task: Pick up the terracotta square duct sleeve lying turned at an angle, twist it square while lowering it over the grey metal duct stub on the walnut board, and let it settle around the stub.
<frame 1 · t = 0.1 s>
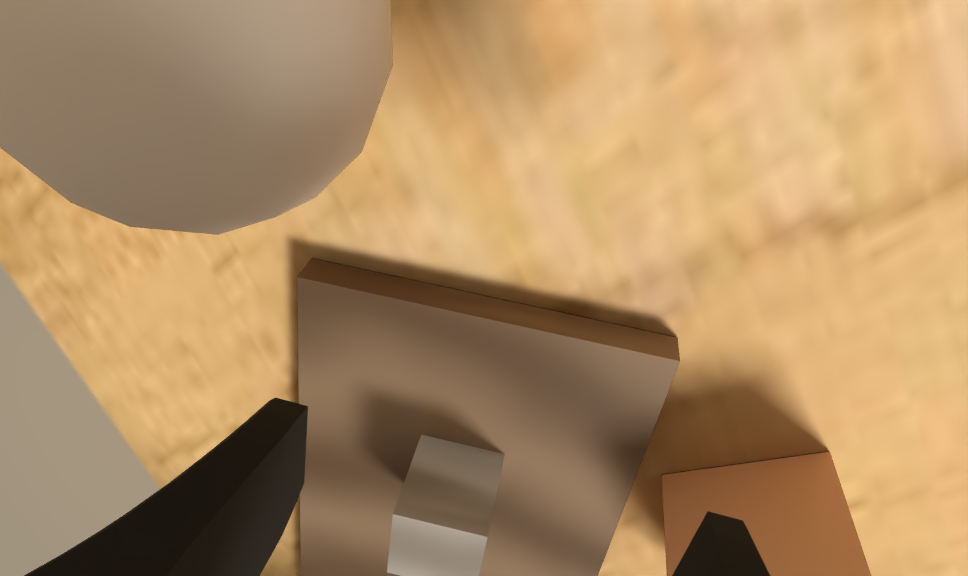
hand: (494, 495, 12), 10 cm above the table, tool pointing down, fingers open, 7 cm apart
duct sleeve: (758, 518, 25), on the table
duct board: (458, 485, 27), on the table
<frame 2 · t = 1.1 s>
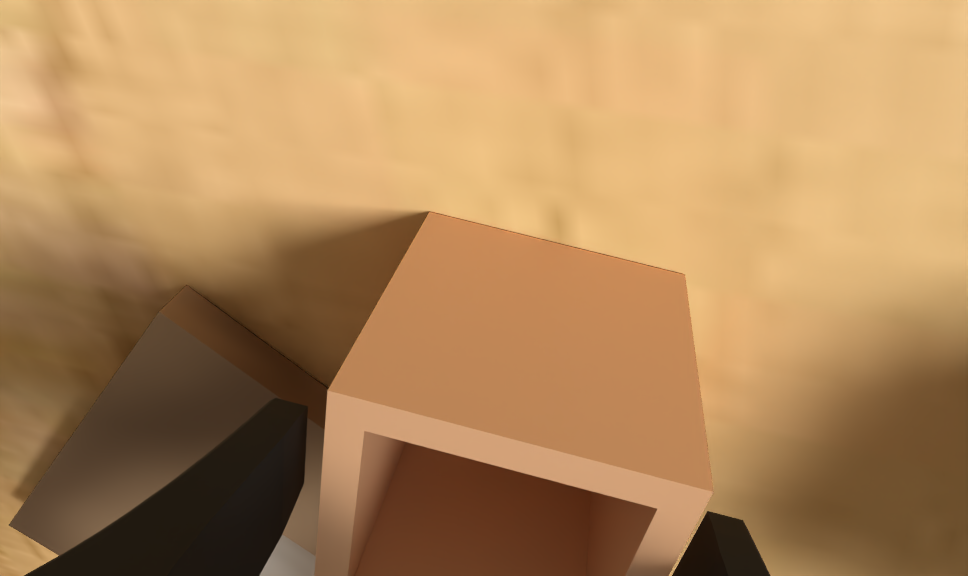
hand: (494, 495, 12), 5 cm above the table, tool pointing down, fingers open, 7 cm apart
duct sleeve: (528, 344, 16), on the table
duct board: (345, 569, 22), on the table
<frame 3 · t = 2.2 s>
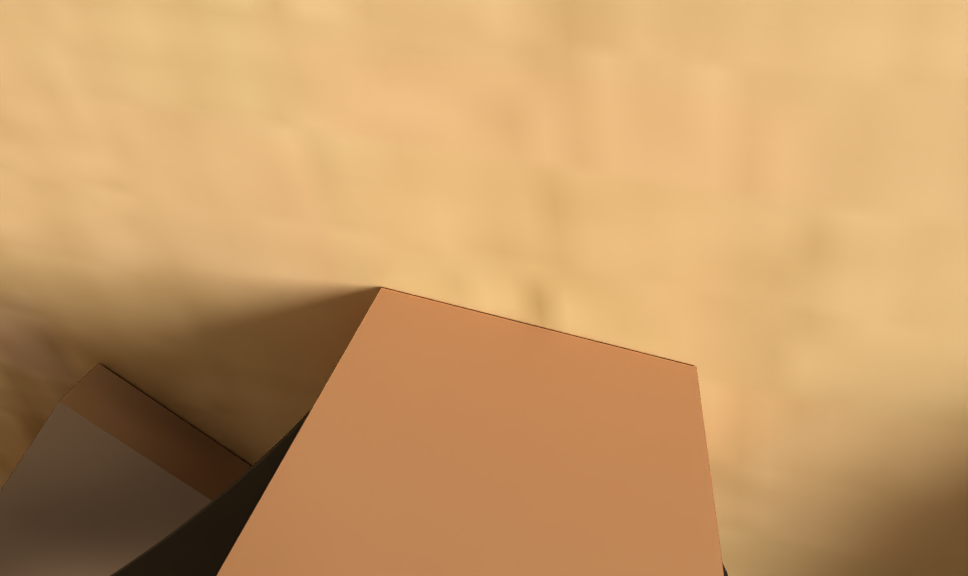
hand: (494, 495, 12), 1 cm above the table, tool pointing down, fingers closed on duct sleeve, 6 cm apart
duct sleeve: (505, 439, 13), on the table, touching gripper
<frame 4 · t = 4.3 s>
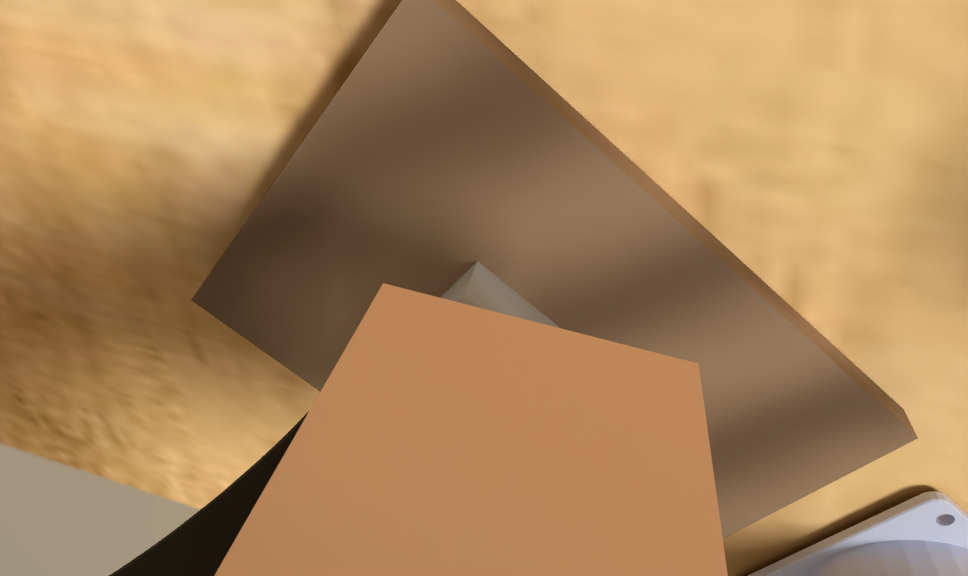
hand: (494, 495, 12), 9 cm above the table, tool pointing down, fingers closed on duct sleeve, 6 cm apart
duct sleeve: (507, 436, 13), point 7 cm above the table, touching gripper
duct board: (540, 341, 21), on the table
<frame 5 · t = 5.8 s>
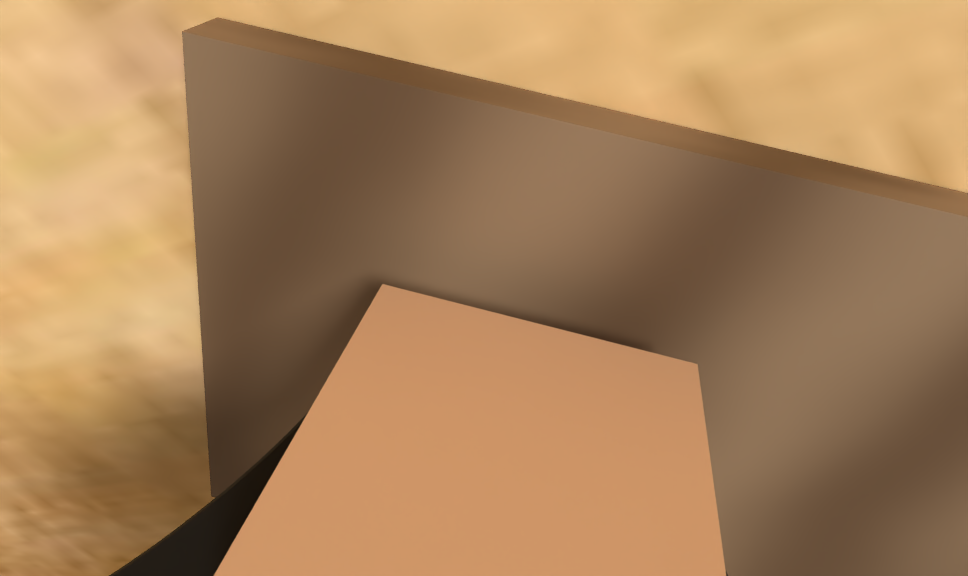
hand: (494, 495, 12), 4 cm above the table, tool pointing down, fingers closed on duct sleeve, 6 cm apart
duct sleeve: (506, 436, 13), point 2 cm above the table, touching gripper
duct board: (608, 383, 15), on the table
when the fingers open (4 cm above the table, at t = 6.6 s): duct sleeve drops 1 cm, resting on duct board.
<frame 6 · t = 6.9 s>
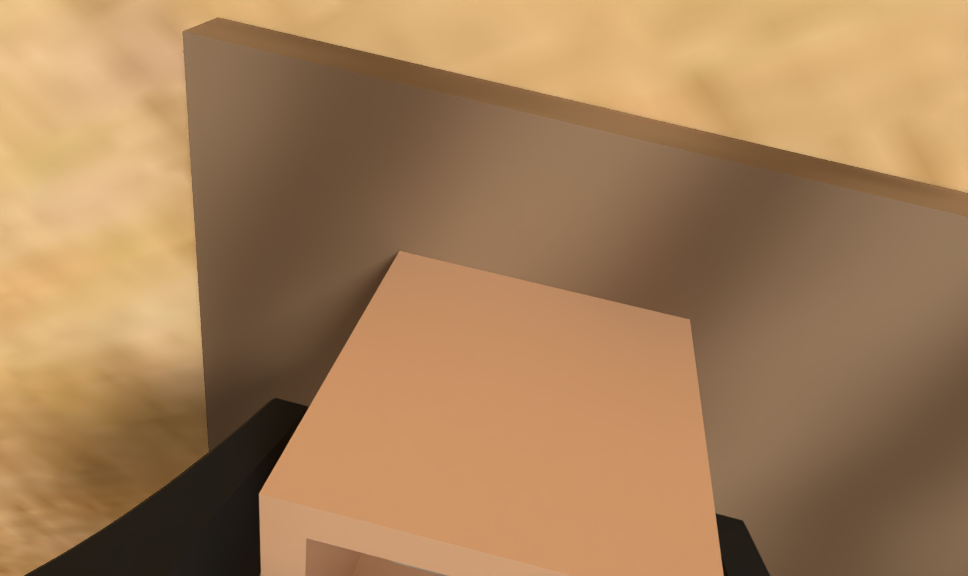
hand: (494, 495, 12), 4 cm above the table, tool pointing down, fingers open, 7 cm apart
duct sleeve: (515, 394, 15), point 1 cm above the table, touching duct board
duct board: (609, 383, 15), on the table
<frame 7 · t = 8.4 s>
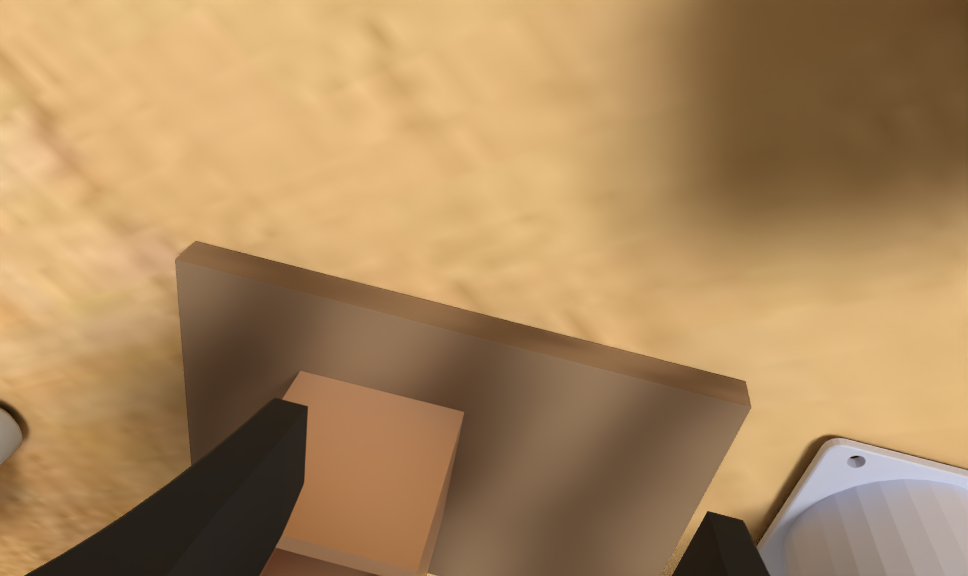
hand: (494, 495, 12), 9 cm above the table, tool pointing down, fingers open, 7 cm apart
duct sleeve: (375, 450, 24), point 1 cm above the table, touching duct board
duct board: (438, 441, 25), on the table
light bulb: (7, 410, 29), on the table
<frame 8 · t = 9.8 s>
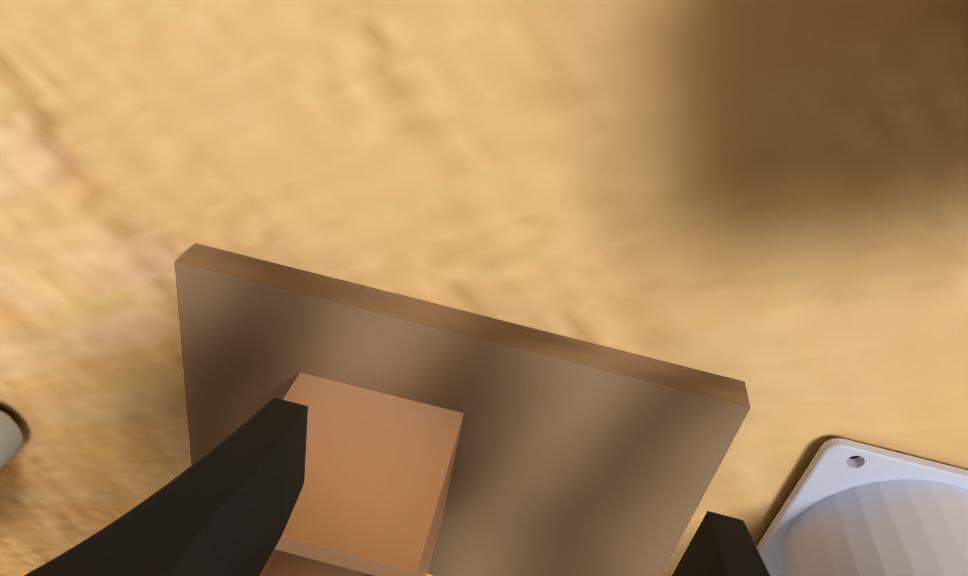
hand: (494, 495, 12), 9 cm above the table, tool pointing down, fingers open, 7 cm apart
duct sleeve: (374, 451, 24), point 1 cm above the table, touching duct board
duct board: (437, 442, 25), on the table
light bulb: (8, 413, 29), on the table
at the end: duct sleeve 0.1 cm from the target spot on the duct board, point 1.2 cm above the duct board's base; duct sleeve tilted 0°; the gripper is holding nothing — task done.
